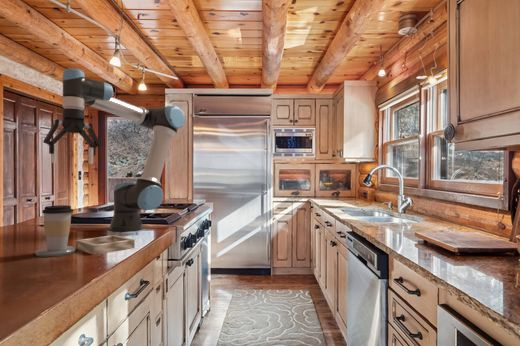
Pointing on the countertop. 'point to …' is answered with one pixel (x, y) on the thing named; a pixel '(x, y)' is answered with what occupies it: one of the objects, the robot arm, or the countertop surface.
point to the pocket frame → (104, 244)
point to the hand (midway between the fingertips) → (73, 163)
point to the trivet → (55, 252)
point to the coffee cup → (57, 226)
